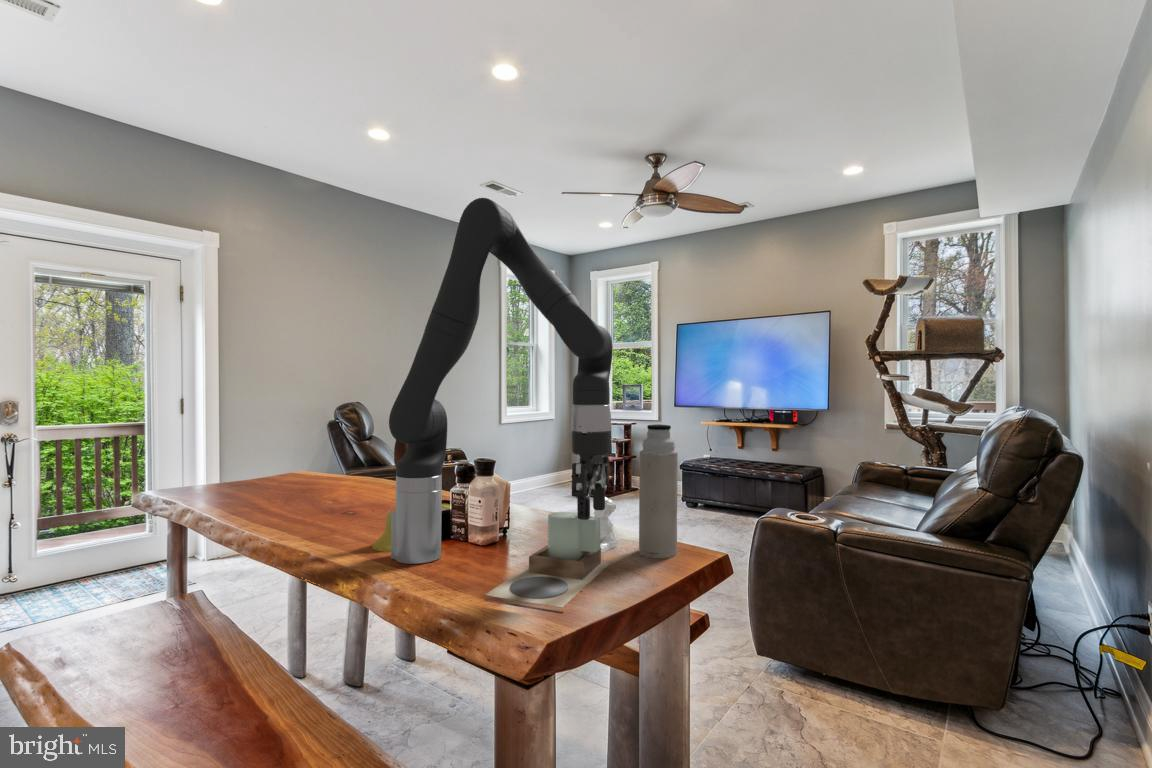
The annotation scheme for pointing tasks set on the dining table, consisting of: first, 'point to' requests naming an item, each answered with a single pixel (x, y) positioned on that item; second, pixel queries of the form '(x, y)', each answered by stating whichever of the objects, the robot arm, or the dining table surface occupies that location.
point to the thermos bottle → (658, 494)
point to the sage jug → (572, 535)
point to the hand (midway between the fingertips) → (591, 514)
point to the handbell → (385, 539)
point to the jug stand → (549, 580)
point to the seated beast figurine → (607, 526)
